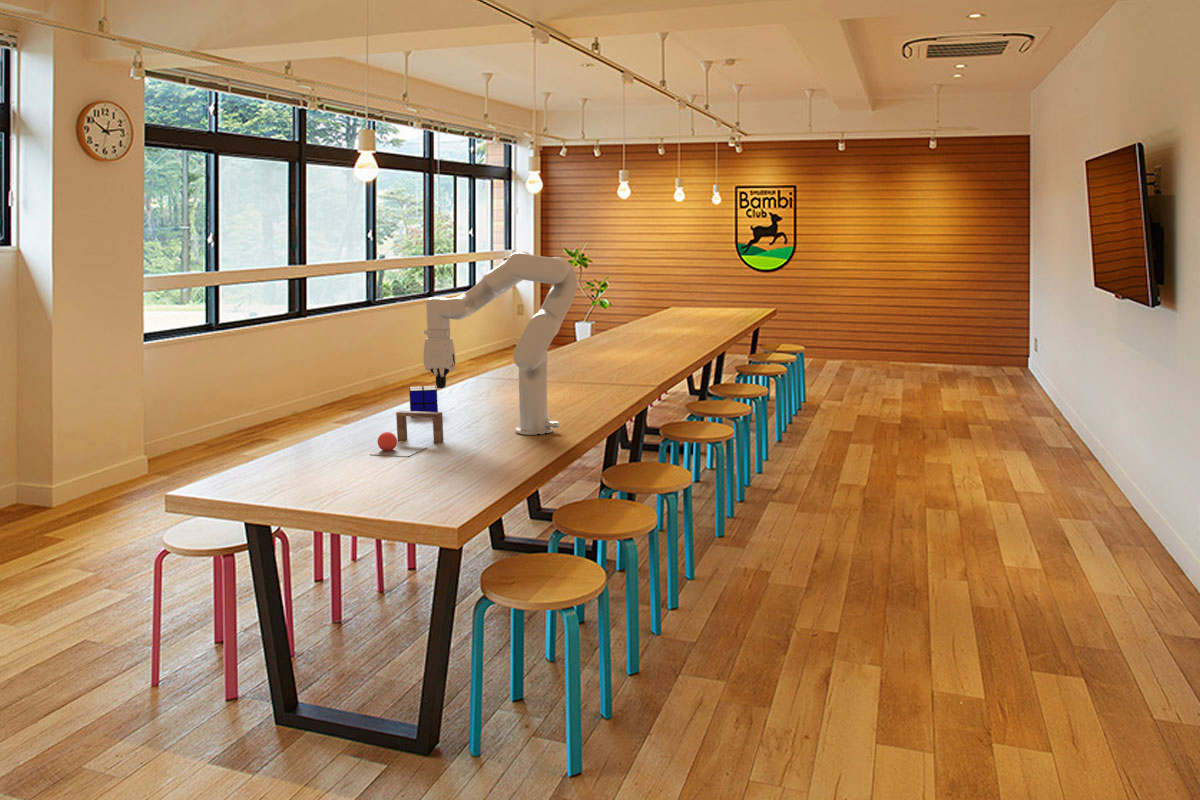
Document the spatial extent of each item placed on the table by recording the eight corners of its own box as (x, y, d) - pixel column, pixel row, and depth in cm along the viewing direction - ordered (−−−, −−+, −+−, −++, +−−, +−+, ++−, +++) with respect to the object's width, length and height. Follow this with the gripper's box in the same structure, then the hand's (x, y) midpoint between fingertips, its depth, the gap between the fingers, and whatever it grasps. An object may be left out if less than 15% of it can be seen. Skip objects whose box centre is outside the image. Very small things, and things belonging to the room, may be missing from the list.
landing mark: (426, 448, 320) (426, 447, 320) (407, 457, 307) (407, 456, 307) (390, 446, 323) (390, 445, 323) (369, 454, 311) (369, 454, 311)
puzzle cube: (410, 417, 372) (409, 390, 370) (410, 412, 382) (409, 386, 380) (438, 416, 374) (437, 389, 372) (437, 411, 384) (435, 385, 382)
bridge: (401, 439, 333) (400, 410, 331) (443, 441, 329) (442, 412, 327) (397, 441, 330) (396, 412, 329) (439, 443, 326) (438, 414, 324)
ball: (393, 456, 315) (402, 444, 319) (389, 442, 311) (398, 429, 315) (376, 453, 316) (385, 441, 321) (372, 439, 313) (381, 426, 317)
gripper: (413, 335, 338) (416, 388, 342) (454, 335, 334) (456, 390, 337) (423, 332, 346) (426, 385, 349) (463, 333, 341) (465, 386, 344)
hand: (441, 387), depth 343 cm, fingers closed
